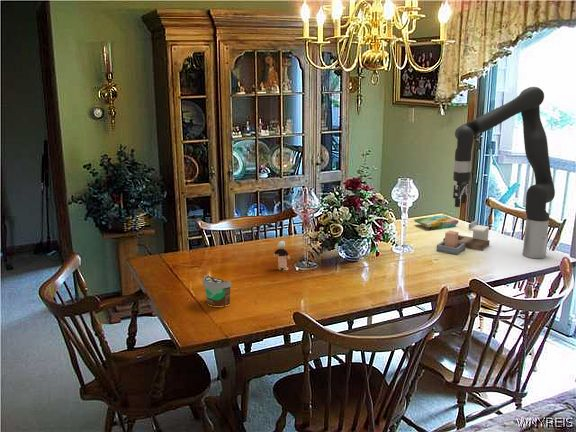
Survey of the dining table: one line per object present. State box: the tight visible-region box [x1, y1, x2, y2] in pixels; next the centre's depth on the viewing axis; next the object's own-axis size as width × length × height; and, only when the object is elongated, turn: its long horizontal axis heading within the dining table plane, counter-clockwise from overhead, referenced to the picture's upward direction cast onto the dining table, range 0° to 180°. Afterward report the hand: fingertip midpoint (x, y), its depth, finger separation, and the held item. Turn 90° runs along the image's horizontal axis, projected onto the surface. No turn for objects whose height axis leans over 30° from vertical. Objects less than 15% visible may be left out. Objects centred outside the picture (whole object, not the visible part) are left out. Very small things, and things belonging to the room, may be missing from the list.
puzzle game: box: [413, 214, 459, 230], centre depth 299 cm, size 12×5×20 cm
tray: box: [435, 240, 466, 256], centre depth 260 cm, size 10×10×3 cm
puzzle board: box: [442, 234, 491, 252], centre depth 268 cm, size 19×10×2 cm, turn 53°
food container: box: [202, 273, 232, 306], centre depth 202 cm, size 12×6×10 cm, turn 52°
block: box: [444, 230, 459, 248], centre depth 259 cm, size 4×4×8 cm
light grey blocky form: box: [467, 220, 490, 241], centre depth 264 cm, size 7×8×9 cm
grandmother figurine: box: [272, 240, 291, 271], centre depth 237 cm, size 8×4×13 cm, turn 74°
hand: (460, 205), depth 256 cm, fingers open, 8 cm apart
